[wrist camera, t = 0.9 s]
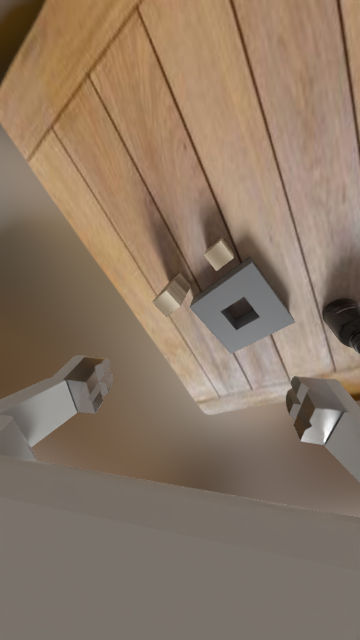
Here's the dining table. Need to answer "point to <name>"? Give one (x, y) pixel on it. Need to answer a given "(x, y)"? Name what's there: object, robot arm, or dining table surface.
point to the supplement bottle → (344, 321)
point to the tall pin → (172, 295)
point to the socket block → (253, 324)
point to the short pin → (219, 254)
